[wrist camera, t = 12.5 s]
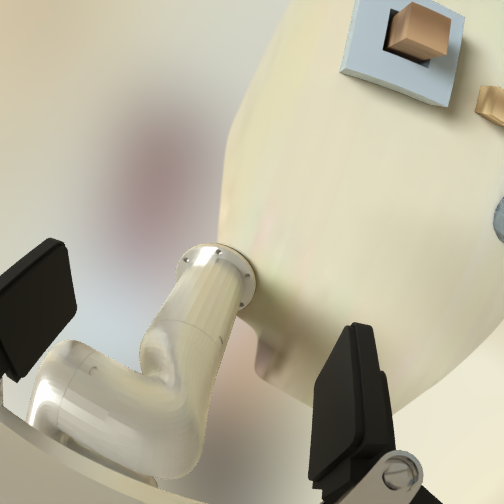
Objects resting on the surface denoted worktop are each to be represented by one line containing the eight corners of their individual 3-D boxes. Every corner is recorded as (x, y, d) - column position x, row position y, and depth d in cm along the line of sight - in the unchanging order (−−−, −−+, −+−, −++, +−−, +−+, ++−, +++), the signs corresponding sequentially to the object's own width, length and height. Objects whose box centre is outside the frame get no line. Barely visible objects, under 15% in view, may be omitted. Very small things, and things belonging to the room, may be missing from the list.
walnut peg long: (407, 64, 29) (446, 55, 19) (377, 53, 29) (406, 37, 19) (412, 37, 27) (451, 19, 17) (382, 26, 27) (412, 1, 17)
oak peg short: (495, 124, 30) (514, 129, 25) (474, 111, 30) (493, 115, 25) (501, 99, 28) (521, 102, 23) (480, 85, 28) (499, 86, 23)
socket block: (428, 104, 31) (447, 107, 26) (339, 72, 32) (345, 68, 26) (444, 25, 25) (464, 17, 20) (356, -10, 26) (364, -26, 20)
